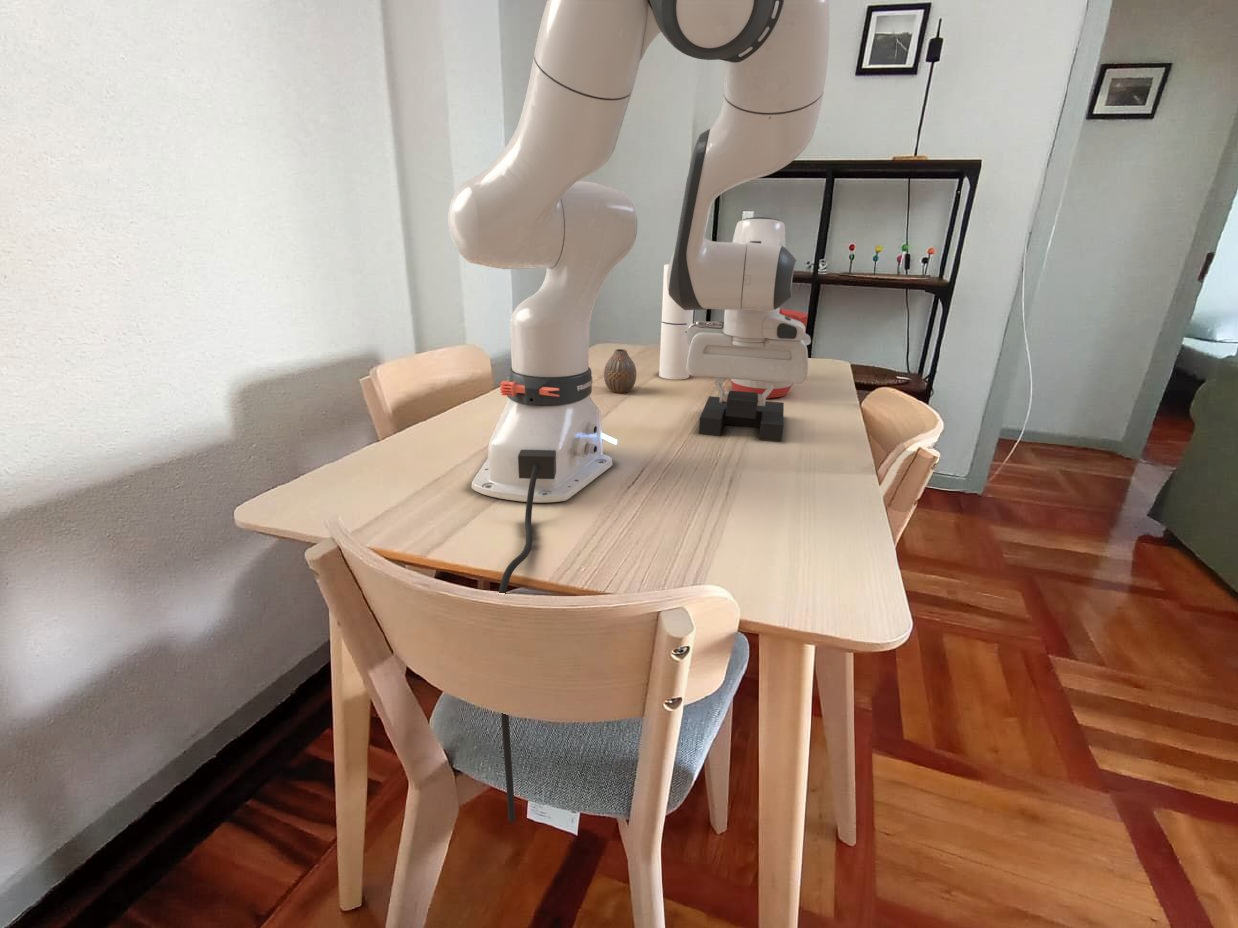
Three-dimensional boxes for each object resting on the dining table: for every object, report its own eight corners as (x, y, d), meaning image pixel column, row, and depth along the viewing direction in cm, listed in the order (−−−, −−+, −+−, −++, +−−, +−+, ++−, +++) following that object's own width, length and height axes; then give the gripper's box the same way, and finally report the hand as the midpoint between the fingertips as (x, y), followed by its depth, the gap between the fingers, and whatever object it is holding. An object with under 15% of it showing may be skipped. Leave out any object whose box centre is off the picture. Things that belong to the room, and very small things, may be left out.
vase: (637, 387, 134) (638, 347, 131) (634, 395, 128) (635, 354, 124) (605, 385, 135) (606, 346, 131) (602, 394, 128) (602, 352, 125)
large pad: (781, 442, 103) (783, 425, 102) (698, 433, 106) (699, 417, 105) (781, 417, 115) (783, 402, 114) (707, 411, 119) (709, 396, 117)
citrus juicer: (780, 408, 121) (793, 305, 113) (709, 391, 132) (716, 296, 124) (817, 394, 131) (831, 299, 124) (748, 379, 142) (757, 291, 135)
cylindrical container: (654, 373, 147) (659, 264, 137) (682, 371, 149) (688, 264, 139) (665, 380, 140) (671, 266, 131) (694, 378, 142) (701, 266, 133)
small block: (755, 418, 103) (757, 401, 102) (725, 416, 104) (727, 399, 103) (756, 408, 109) (758, 392, 108) (728, 406, 110) (729, 390, 109)
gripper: (685, 322, 100) (680, 403, 105) (814, 330, 96) (802, 414, 101) (690, 317, 106) (685, 394, 111) (812, 324, 101) (801, 404, 107)
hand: (742, 404), depth 106 cm, fingers closed on small block, 5 cm apart
